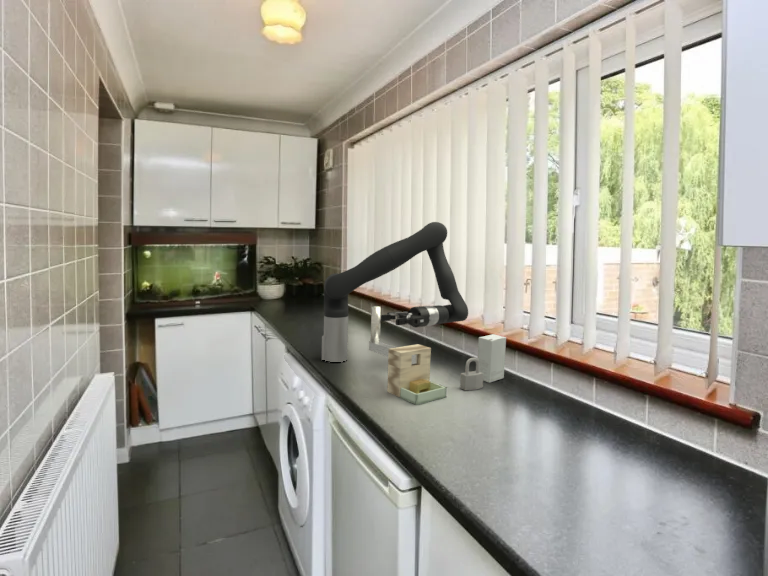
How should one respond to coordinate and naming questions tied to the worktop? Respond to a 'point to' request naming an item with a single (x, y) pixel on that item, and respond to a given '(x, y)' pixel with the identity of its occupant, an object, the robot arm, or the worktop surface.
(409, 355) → the bearing block
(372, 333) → the crank handle
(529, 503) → the worktop surface
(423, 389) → the spacer
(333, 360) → the robot arm
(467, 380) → the padlock
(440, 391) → the tray
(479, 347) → the skincare box
